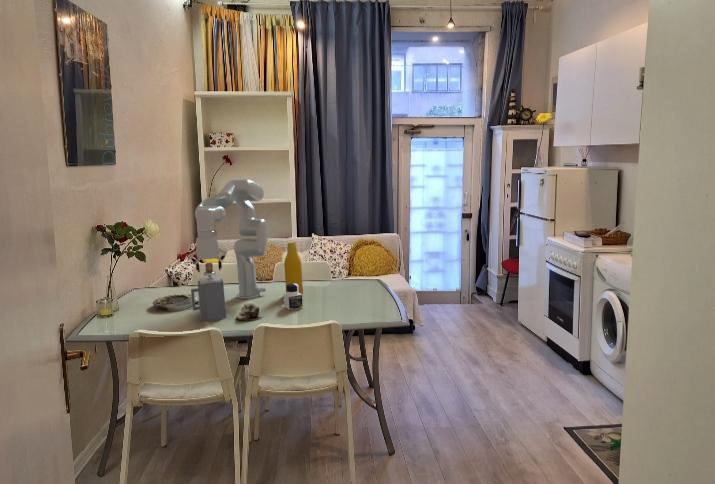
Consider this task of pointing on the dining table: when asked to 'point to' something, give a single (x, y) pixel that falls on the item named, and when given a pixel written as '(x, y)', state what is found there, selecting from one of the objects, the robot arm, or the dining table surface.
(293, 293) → the medicine bottle
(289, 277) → the beer bottle
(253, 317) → the skull
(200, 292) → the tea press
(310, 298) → the dining table surface
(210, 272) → the plunger
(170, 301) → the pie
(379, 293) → the dining table surface
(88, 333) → the dining table surface
